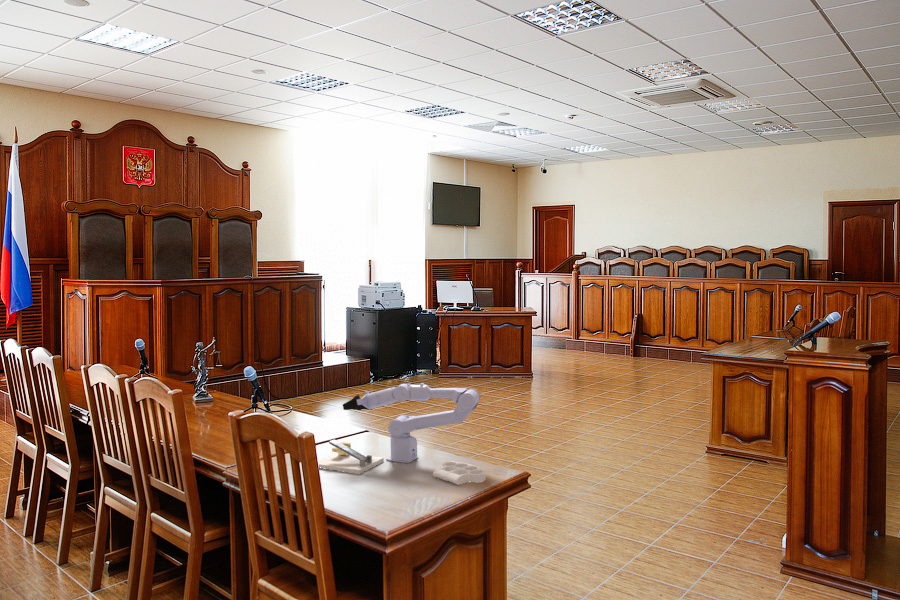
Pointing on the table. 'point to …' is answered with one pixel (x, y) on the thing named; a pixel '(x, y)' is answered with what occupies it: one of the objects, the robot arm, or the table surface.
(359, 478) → the table surface
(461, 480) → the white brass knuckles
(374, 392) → the robot arm
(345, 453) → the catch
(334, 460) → the board
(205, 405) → the table surface
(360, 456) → the dark grey flat bar
